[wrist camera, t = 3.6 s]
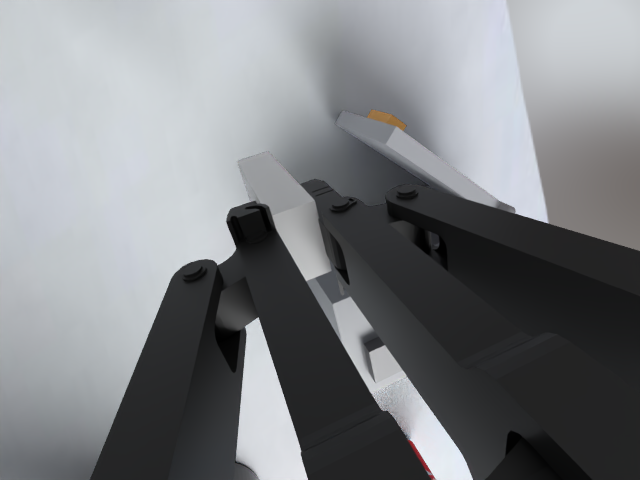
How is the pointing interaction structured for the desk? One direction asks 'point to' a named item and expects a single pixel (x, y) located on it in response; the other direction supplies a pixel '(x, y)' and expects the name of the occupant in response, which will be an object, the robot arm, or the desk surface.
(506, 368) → the robot arm
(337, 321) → the camera body
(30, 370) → the desk surface
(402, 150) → the side door
